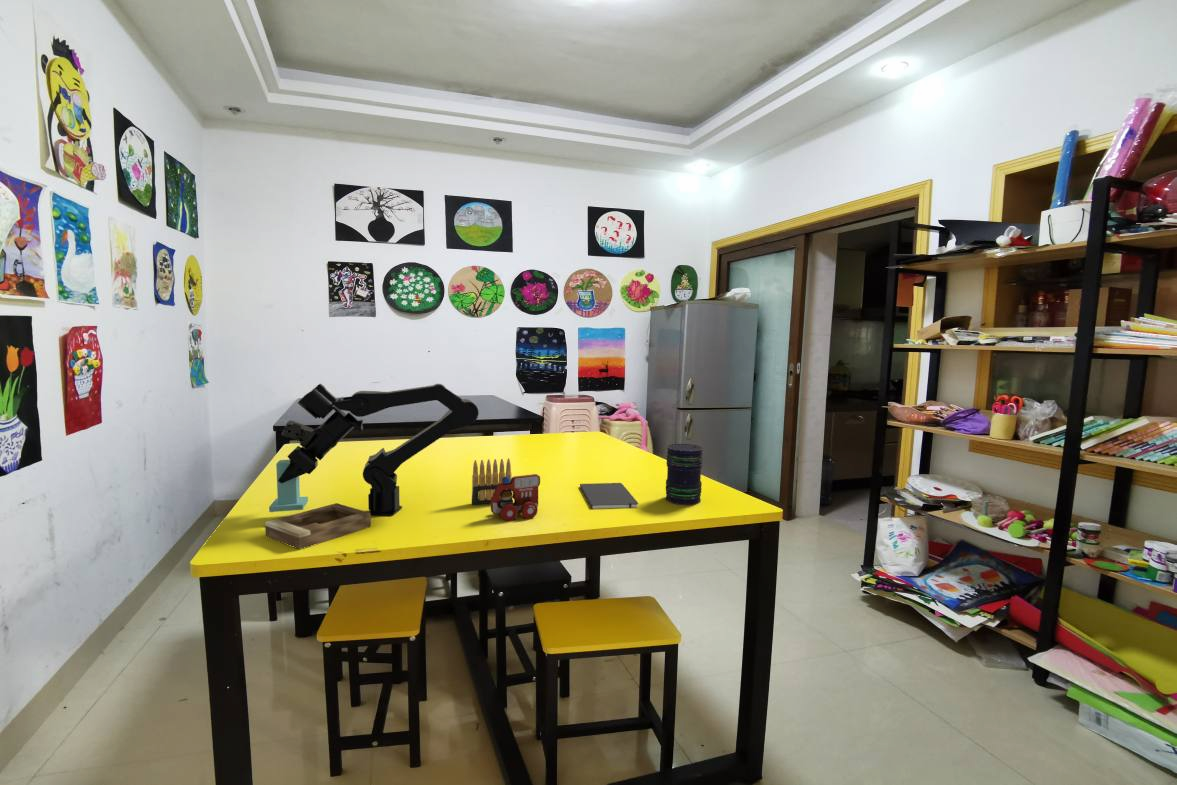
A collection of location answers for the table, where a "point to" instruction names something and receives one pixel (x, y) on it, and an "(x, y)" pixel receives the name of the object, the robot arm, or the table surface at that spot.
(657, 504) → the table surface
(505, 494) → the toy fire truck
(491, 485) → the ammunition clip
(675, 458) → the storage jar
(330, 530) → the keyhole plate
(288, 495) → the peg
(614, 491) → the notebook
